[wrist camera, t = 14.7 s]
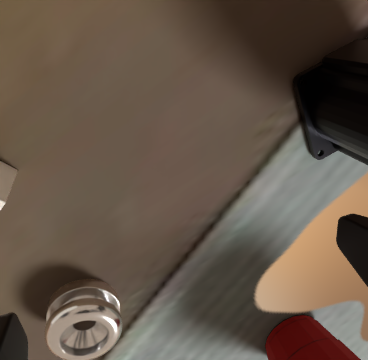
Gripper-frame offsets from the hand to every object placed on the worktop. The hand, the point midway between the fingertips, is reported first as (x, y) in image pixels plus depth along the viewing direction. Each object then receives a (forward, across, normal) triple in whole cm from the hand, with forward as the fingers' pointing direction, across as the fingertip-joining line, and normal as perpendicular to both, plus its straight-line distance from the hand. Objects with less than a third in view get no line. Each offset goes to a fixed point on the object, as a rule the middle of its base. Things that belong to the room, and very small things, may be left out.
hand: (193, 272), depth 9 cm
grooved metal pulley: (+13, +6, +12) cm, 19 cm away
